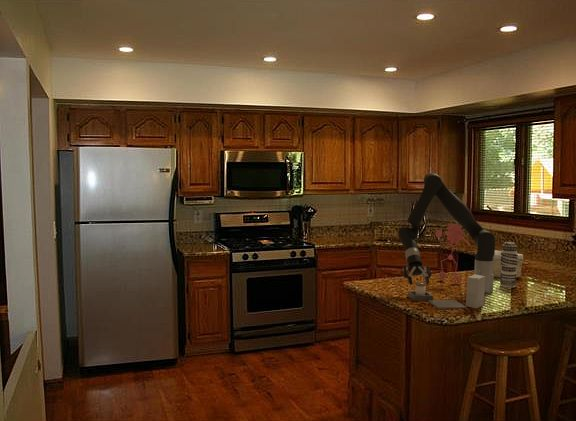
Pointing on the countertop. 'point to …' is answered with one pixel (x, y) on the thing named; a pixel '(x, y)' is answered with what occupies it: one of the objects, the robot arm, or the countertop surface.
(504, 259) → the decorative candle
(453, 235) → the figurine
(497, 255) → the storage basket
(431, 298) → the grey holder
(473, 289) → the skincare box
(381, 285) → the countertop surface
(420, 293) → the cream jar
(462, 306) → the slate tile
